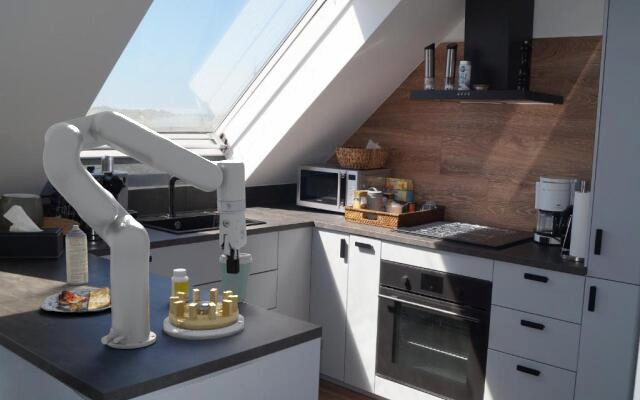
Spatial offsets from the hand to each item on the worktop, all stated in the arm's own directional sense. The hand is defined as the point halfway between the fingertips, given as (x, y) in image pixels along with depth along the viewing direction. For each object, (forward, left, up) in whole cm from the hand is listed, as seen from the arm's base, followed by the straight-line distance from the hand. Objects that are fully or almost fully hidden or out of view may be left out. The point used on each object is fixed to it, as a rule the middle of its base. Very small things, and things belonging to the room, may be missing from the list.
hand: (233, 272), depth 195 cm
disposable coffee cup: (+26, +13, -16) cm, 33 cm away
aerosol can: (+24, +73, -16) cm, 79 cm away
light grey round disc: (-2, +8, -16) cm, 18 cm away
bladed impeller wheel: (-2, +8, -13) cm, 16 cm away
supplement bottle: (+19, +29, -16) cm, 38 cm away
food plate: (+3, +53, -16) cm, 56 cm away
